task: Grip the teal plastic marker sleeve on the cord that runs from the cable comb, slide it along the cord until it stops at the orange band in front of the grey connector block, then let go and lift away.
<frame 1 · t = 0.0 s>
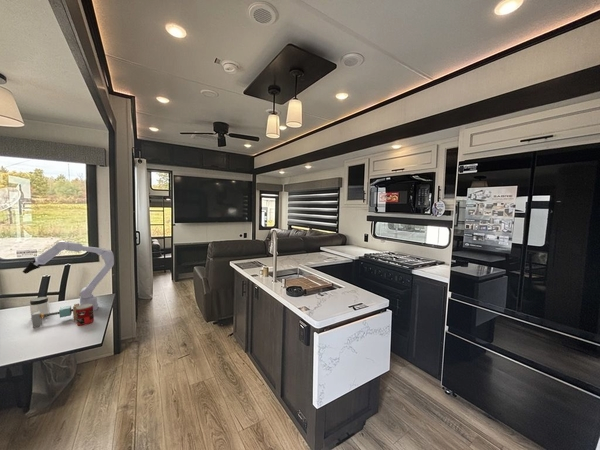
hand: (25, 271, 154), 32 cm above the table, tool tilted 50°, fingers open, 7 cm apart
cord rig: (58, 321, 155), on the table
marker sleeve: (65, 311, 157), point 6 cm above the table, slide at 0.0 cm
jar: (40, 316, 162), on the table
canned food: (85, 323, 153), on the table
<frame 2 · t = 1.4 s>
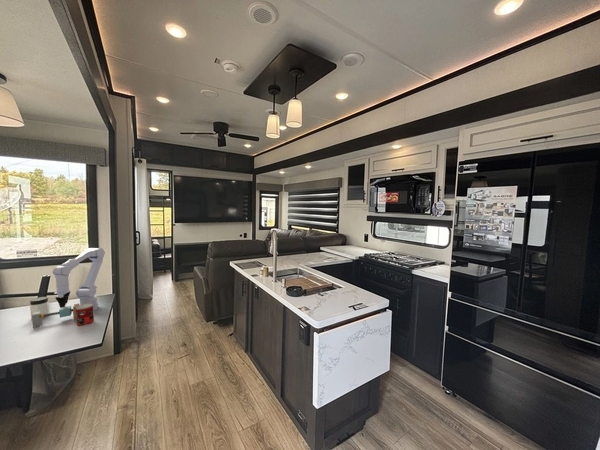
hand: (63, 305, 156), 10 cm above the table, tool pointing down, fingers open, 7 cm apart
nothing on the table moved.
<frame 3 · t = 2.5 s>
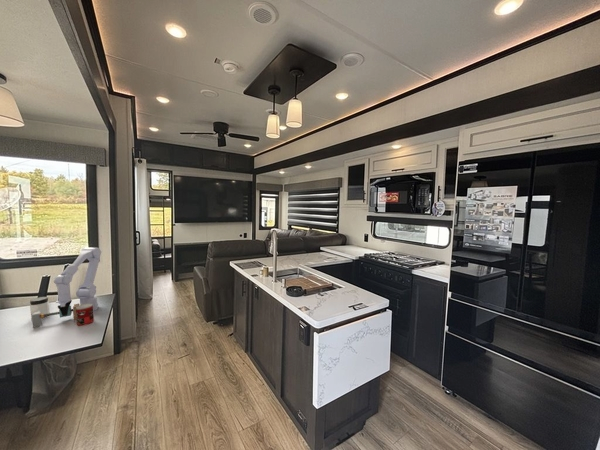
hand: (65, 313, 157), 4 cm above the table, tool pointing down, fingers closed on marker sleeve, 5 cm apart
marker sleeve: (65, 311, 157), point 6 cm above the table, slide at 0.0 cm, touching gripper
everything else where it was.
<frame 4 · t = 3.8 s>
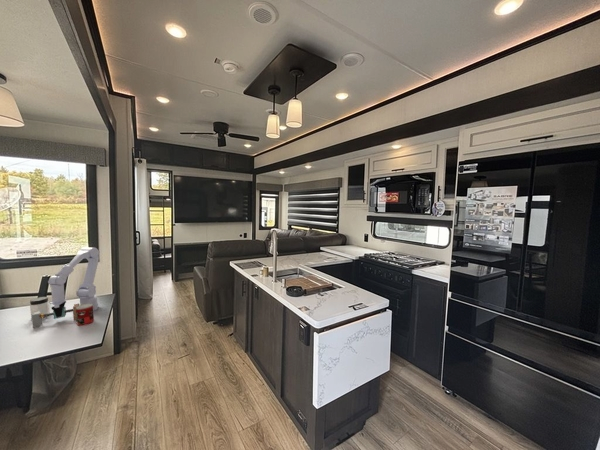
hand: (59, 315, 155), 4 cm above the table, tool pointing down, fingers closed on marker sleeve, 5 cm apart
marker sleeve: (59, 312, 155), point 6 cm above the table, slide at 2.7 cm, touching gripper
everything else where it was.
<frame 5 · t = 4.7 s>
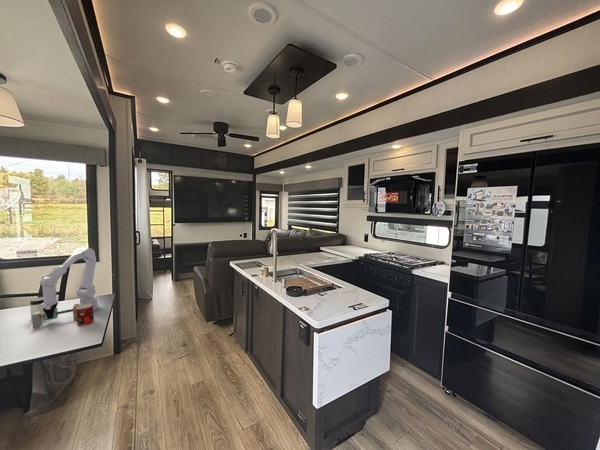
hand: (51, 316, 153), 4 cm above the table, tool pointing down, fingers closed on marker sleeve, 5 cm apart
marker sleeve: (51, 314, 153), point 6 cm above the table, slide at 6.5 cm, touching gripper
everything else where it was.
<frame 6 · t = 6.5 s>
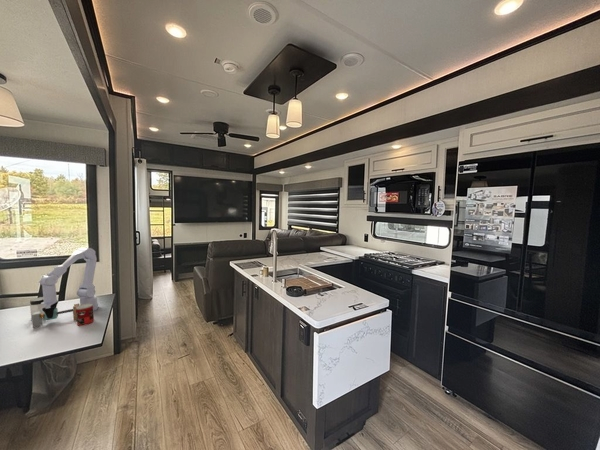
hand: (51, 315, 153), 4 cm above the table, tool pointing down, fingers open, 7 cm apart
marker sleeve: (51, 314, 153), point 6 cm above the table, slide at 6.5 cm
everything else where it was.
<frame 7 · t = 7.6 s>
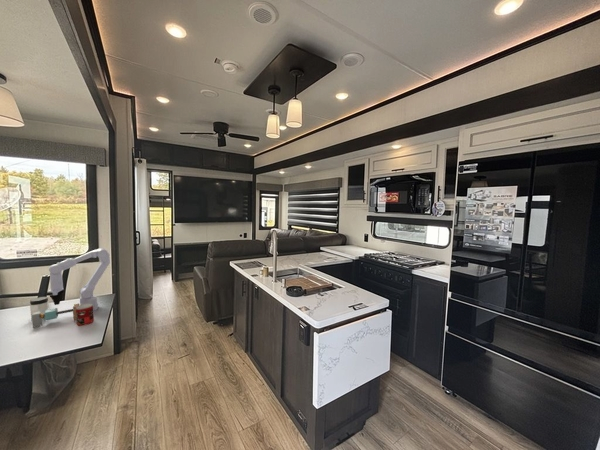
hand: (58, 302, 162), 9 cm above the table, tool pointing down, fingers open, 7 cm apart
nothing on the table moved.
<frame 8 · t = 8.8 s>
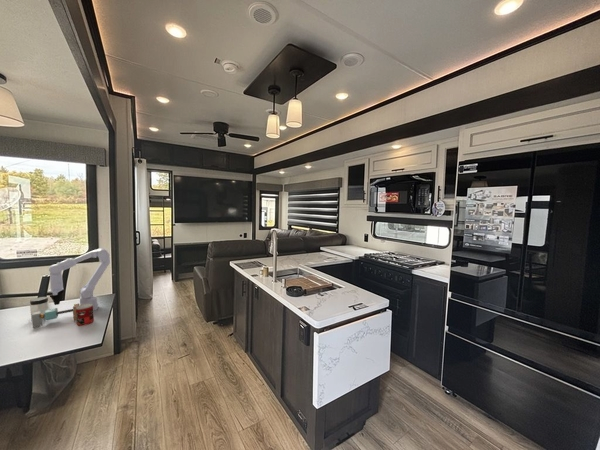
hand: (58, 302, 162), 9 cm above the table, tool pointing down, fingers open, 7 cm apart
nothing on the table moved.
at the end: marker sleeve slide at 6.5 cm; the gripper is holding nothing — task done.
